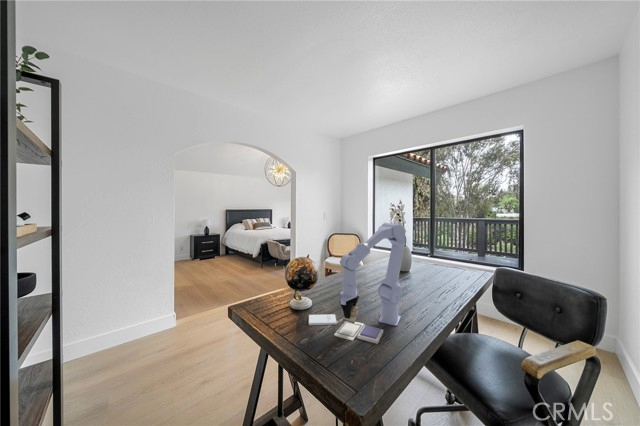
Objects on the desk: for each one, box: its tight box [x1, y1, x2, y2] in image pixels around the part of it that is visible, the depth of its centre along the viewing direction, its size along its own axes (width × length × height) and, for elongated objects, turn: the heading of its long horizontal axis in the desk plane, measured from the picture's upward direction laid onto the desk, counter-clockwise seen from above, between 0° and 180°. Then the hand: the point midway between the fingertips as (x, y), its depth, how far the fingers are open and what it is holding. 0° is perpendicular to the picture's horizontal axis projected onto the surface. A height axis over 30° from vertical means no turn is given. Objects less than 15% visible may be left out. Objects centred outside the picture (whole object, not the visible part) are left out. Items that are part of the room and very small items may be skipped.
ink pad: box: [356, 324, 384, 345], centre depth 95 cm, size 9×8×2 cm
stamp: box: [343, 305, 359, 323], centre depth 99 cm, size 4×4×5 cm
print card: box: [333, 321, 365, 342], centre depth 99 cm, size 14×8×1 cm, turn 151°
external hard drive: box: [308, 313, 338, 326], centre depth 108 cm, size 2×8×12 cm
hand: (349, 315), depth 99 cm, fingers closed on stamp, 4 cm apart
